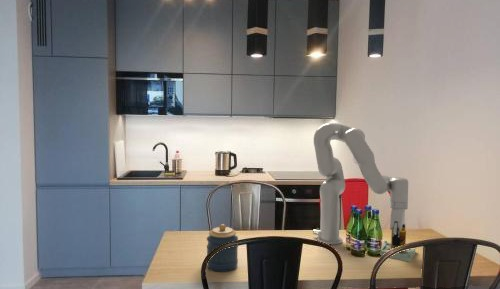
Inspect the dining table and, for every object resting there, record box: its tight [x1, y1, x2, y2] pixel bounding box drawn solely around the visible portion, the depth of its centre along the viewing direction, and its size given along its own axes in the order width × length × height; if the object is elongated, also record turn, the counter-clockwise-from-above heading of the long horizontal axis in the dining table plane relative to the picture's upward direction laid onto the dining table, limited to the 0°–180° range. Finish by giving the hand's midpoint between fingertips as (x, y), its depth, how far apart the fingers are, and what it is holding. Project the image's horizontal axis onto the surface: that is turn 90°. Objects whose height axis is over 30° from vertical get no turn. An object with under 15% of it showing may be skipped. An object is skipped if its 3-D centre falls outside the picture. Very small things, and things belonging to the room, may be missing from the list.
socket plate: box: [379, 240, 416, 262], centre depth 162 cm, size 14×14×3 cm
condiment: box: [386, 224, 409, 252], centre depth 162 cm, size 7×8×12 cm
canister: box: [206, 223, 239, 273], centre depth 145 cm, size 13×13×18 cm
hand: (397, 242), depth 162 cm, fingers open, 6 cm apart
